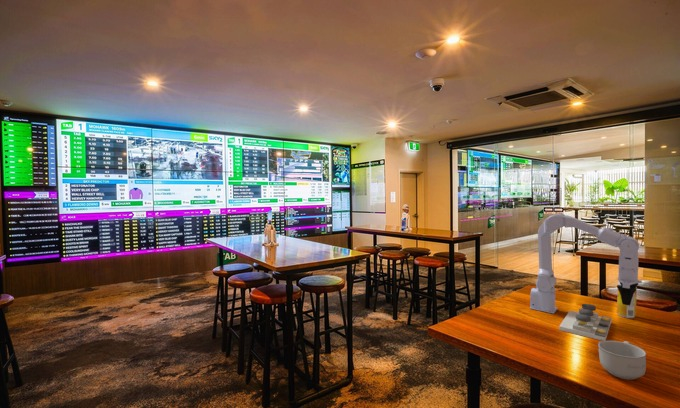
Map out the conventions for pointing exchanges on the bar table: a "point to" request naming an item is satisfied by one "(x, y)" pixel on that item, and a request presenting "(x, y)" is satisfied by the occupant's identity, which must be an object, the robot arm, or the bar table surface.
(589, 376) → the bar table surface
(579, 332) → the board
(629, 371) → the light grey bowl
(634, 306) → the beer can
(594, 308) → the button
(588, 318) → the button
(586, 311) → the button
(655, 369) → the bar table surface
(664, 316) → the bar table surface
